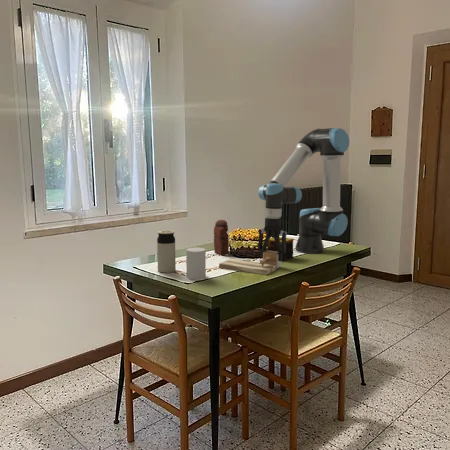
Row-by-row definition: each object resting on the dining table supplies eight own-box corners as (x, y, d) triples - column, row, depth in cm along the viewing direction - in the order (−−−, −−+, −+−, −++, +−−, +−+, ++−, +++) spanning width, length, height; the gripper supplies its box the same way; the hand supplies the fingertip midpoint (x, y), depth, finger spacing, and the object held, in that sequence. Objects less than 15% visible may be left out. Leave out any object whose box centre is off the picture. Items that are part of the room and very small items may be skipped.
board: (230, 262, 220) (230, 258, 219) (276, 269, 208) (276, 265, 208) (219, 267, 210) (219, 263, 210) (266, 274, 199) (266, 270, 198)
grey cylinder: (191, 273, 200) (191, 247, 198) (208, 275, 197) (208, 248, 195) (183, 278, 193) (183, 250, 191) (200, 280, 190) (200, 252, 188)
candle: (283, 261, 222) (284, 241, 221) (265, 258, 229) (266, 239, 227) (293, 258, 231) (294, 238, 229) (276, 255, 237) (276, 236, 235)
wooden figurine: (231, 255, 236) (232, 220, 233) (220, 256, 233) (220, 221, 231) (222, 250, 247) (222, 217, 244) (211, 251, 244) (211, 218, 241)
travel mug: (178, 269, 207) (178, 230, 204) (170, 273, 200) (170, 233, 197) (162, 267, 210) (162, 229, 207) (154, 272, 203) (153, 232, 200)
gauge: (267, 265, 216) (268, 250, 215) (279, 266, 213) (280, 252, 212) (255, 271, 204) (255, 256, 203) (267, 273, 201) (268, 257, 200)
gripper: (251, 216, 210) (249, 265, 213) (289, 220, 200) (287, 271, 204) (257, 214, 216) (256, 262, 220) (295, 218, 207) (293, 267, 211)
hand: (271, 266), depth 212 cm, fingers closed on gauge, 6 cm apart
